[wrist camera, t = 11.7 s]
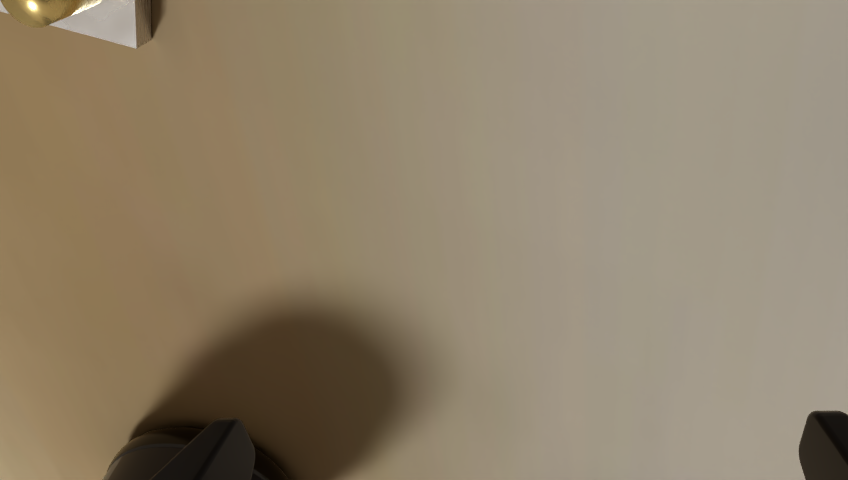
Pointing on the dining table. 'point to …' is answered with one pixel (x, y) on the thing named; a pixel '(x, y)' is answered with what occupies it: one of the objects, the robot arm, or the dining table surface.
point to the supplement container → (171, 456)
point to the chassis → (88, 17)
